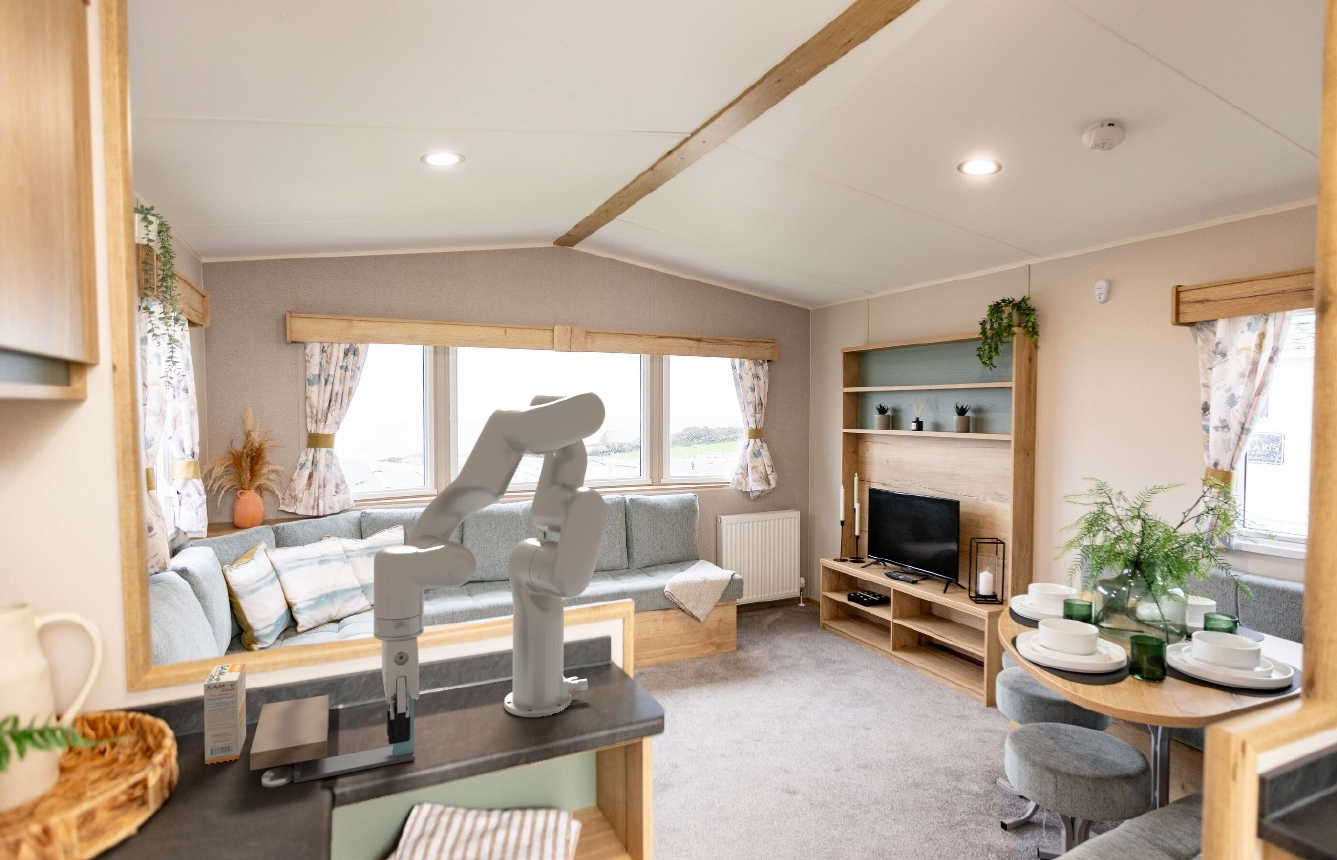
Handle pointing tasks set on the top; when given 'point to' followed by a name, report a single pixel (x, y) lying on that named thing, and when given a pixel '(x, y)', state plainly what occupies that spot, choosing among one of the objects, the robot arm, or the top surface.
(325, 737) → the low block
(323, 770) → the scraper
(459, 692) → the top surface
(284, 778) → the steel token
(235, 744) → the supplement box
